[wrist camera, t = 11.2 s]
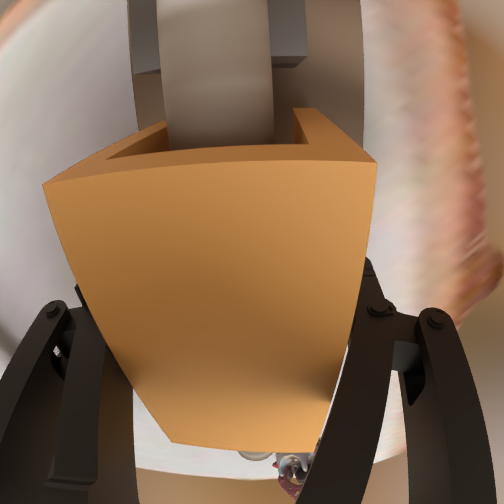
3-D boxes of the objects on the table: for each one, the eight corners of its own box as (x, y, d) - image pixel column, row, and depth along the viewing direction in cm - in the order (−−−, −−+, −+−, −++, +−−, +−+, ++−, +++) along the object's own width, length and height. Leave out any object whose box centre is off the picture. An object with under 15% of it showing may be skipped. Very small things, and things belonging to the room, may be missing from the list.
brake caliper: (305, 443, 34) (336, 506, 28) (337, 420, 41) (363, 474, 36) (250, 458, 38) (278, 514, 33) (288, 438, 46) (311, 487, 41)
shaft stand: (328, 354, 26) (336, 459, 17) (199, 352, 27) (175, 451, 18) (347, -32, 10) (412, -120, 1) (141, -15, 11) (25, -61, 3)
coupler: (307, 312, 18) (313, 452, 11) (207, 310, 19) (171, 442, 11) (315, 108, 12) (377, 162, 4) (175, 115, 13) (41, 184, 5)
